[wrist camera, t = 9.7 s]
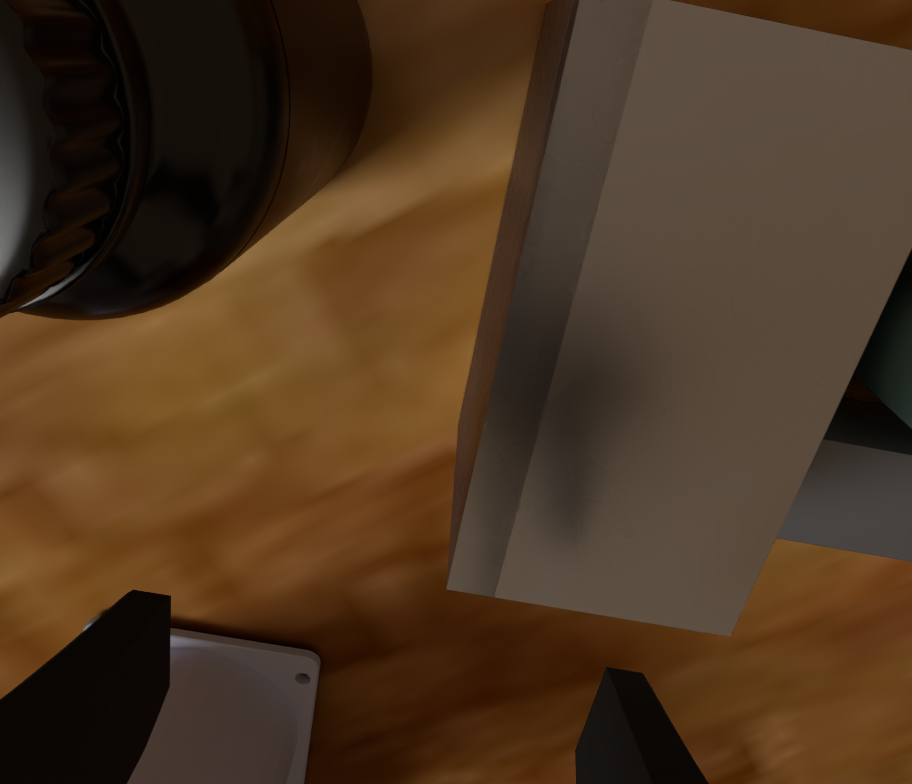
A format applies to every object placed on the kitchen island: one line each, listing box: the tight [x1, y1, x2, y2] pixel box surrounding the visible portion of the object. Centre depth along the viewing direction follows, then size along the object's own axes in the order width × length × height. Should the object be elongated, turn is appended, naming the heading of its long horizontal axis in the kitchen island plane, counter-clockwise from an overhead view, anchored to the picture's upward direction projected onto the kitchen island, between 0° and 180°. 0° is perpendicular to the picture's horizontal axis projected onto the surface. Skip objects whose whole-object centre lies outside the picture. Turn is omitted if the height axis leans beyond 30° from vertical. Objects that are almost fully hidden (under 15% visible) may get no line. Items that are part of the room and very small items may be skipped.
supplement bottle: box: [0, 0, 372, 320], centre depth 12 cm, size 7×7×12 cm
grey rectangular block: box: [446, 0, 912, 637], centre depth 16 cm, size 11×6×7 cm, turn 170°
